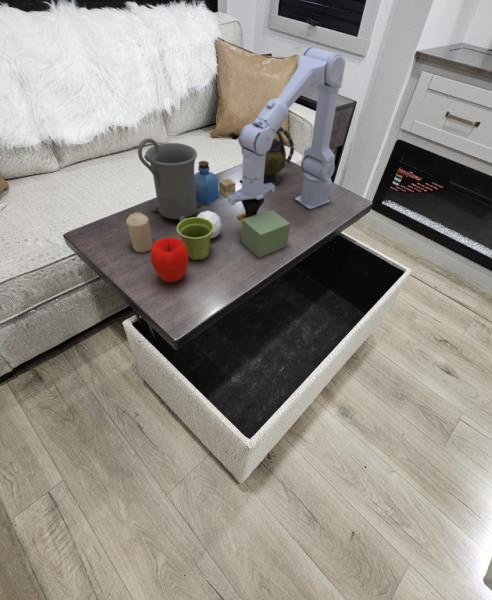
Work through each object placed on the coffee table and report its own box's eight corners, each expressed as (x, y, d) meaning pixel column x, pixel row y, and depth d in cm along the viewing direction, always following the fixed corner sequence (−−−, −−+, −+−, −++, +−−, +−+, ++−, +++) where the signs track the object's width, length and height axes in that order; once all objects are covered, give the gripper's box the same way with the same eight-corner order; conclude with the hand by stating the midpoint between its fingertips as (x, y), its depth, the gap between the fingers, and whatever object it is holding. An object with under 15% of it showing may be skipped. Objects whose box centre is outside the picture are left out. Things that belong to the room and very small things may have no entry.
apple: (174, 295, 81) (168, 260, 73) (147, 280, 84) (139, 246, 76) (197, 275, 86) (194, 241, 79) (171, 262, 89) (166, 228, 81)
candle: (148, 254, 91) (141, 222, 84) (129, 250, 91) (121, 219, 84) (156, 242, 95) (150, 211, 88) (138, 239, 95) (131, 207, 88)
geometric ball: (211, 247, 99) (209, 239, 91) (190, 230, 99) (186, 221, 91) (227, 227, 100) (227, 218, 92) (206, 211, 100) (204, 200, 92)
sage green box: (241, 242, 97) (242, 219, 92) (269, 232, 102) (271, 209, 96) (258, 258, 93) (260, 234, 87) (286, 246, 97) (290, 223, 92)
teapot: (292, 176, 128) (302, 109, 111) (255, 202, 113) (260, 129, 96) (266, 167, 132) (272, 101, 115) (227, 190, 117) (227, 119, 101)
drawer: (232, 229, 100) (232, 211, 96) (256, 220, 104) (257, 203, 100) (255, 250, 94) (257, 232, 89) (280, 240, 98) (283, 222, 93)
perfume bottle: (218, 197, 114) (217, 162, 105) (206, 204, 110) (205, 169, 101) (203, 191, 116) (202, 157, 107) (192, 198, 112) (189, 163, 104)
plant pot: (200, 269, 88) (198, 242, 82) (172, 255, 91) (168, 229, 85) (221, 251, 94) (220, 225, 87) (194, 239, 97) (192, 213, 91)
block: (228, 189, 118) (228, 178, 115) (235, 194, 116) (235, 183, 113) (219, 191, 117) (219, 180, 114) (225, 196, 114) (225, 186, 112)
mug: (182, 196, 113) (174, 116, 95) (214, 213, 107) (212, 131, 89) (136, 219, 102) (117, 133, 84) (169, 239, 96) (155, 151, 78)
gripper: (239, 188, 83) (237, 233, 93) (283, 174, 89) (278, 219, 99) (223, 176, 87) (223, 221, 96) (267, 164, 93) (263, 208, 103)
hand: (250, 219), depth 98 cm, fingers closed
